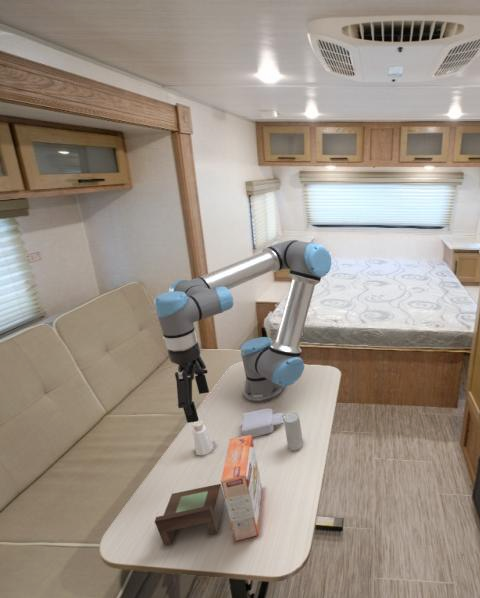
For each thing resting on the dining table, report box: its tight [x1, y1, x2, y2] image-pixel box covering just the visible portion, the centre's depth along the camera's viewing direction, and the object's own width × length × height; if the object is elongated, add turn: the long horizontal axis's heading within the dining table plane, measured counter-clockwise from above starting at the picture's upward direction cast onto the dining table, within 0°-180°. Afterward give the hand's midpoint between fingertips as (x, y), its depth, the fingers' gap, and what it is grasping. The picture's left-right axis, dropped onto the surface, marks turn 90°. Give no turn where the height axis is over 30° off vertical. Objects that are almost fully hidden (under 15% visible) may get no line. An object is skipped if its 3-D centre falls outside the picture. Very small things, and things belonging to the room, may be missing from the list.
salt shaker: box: [192, 420, 215, 456], centre depth 111 cm, size 5×5×11 cm
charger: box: [241, 407, 288, 438], centre depth 122 cm, size 5×9×15 cm
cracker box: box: [220, 435, 263, 542], centre depth 88 cm, size 14×6×21 cm, turn 17°
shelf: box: [154, 483, 226, 547], centre depth 89 cm, size 10×12×9 cm
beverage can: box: [283, 412, 304, 451], centre depth 112 cm, size 5×5×12 cm
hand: (199, 406), depth 105 cm, fingers open, 13 cm apart
